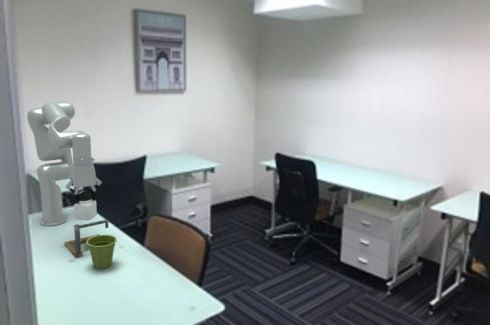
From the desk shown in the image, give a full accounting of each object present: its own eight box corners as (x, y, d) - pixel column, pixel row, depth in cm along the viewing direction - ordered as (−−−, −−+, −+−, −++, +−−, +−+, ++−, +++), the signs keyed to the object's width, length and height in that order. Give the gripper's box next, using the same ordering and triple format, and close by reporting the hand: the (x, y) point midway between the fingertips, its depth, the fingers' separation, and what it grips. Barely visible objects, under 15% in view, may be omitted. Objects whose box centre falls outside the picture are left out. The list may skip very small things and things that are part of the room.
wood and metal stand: (76, 258, 173) (73, 226, 170) (64, 245, 185) (62, 215, 182) (112, 248, 183) (110, 219, 180) (98, 237, 195) (97, 208, 192)
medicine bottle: (97, 215, 185) (95, 190, 182) (89, 220, 178) (88, 194, 175) (82, 214, 185) (80, 189, 183) (74, 219, 178) (72, 193, 176)
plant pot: (108, 273, 161) (107, 247, 159) (82, 270, 164) (80, 244, 161) (123, 260, 173) (122, 236, 170) (98, 257, 175) (96, 233, 172)
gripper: (99, 157, 184) (100, 195, 188) (59, 162, 173) (62, 202, 177) (105, 160, 178) (107, 199, 182) (64, 165, 168) (67, 206, 172)
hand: (84, 200), depth 180 cm, fingers closed on medicine bottle, 6 cm apart
